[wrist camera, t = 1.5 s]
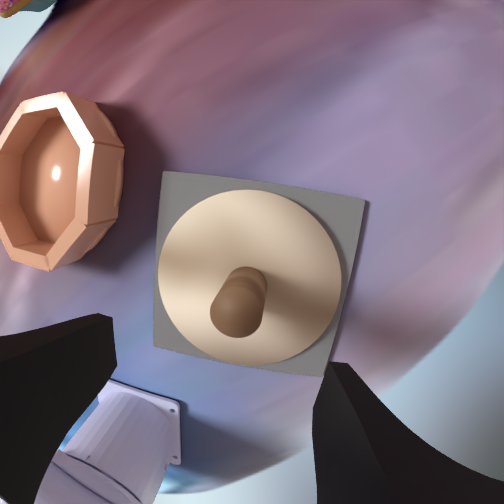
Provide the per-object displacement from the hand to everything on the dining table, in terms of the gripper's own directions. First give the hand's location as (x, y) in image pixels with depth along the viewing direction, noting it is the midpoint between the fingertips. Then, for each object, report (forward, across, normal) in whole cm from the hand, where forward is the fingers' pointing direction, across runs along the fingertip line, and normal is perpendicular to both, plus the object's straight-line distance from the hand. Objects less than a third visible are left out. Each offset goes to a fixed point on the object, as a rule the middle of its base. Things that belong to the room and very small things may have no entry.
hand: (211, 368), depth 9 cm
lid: (+9, 0, 0) cm, 9 cm away
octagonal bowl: (+9, +15, -5) cm, 18 cm away
